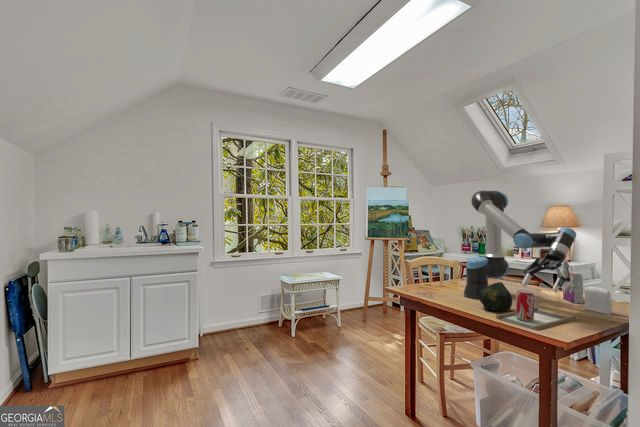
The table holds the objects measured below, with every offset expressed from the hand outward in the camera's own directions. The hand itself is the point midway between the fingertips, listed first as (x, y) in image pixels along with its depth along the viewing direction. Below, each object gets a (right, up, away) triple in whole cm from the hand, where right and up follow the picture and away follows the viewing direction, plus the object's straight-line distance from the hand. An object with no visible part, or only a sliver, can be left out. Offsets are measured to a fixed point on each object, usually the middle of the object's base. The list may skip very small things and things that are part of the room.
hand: (538, 287), depth 148 cm
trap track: (-2, -14, -1) cm, 15 cm away
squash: (-11, -15, +16) cm, 25 cm away
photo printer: (+37, -15, +10) cm, 41 cm away
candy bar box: (+41, -15, +31) cm, 54 cm away
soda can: (-8, -14, -2) cm, 16 cm away
